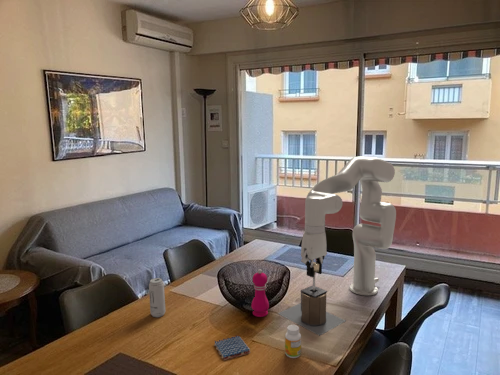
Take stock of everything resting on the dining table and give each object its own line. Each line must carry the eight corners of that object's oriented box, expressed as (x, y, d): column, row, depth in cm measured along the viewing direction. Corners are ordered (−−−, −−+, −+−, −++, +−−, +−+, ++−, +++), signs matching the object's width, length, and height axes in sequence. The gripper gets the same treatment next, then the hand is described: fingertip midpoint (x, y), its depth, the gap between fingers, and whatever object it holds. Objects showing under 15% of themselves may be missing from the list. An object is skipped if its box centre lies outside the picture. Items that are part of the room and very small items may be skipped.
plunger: (312, 307, 157) (313, 259, 154) (326, 314, 152) (327, 264, 148) (300, 313, 153) (300, 263, 149) (314, 320, 147) (315, 268, 144)
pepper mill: (267, 320, 155) (267, 273, 151) (249, 319, 156) (249, 272, 153) (270, 312, 162) (270, 266, 158) (253, 310, 163) (252, 265, 160)
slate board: (304, 303, 168) (304, 301, 168) (346, 323, 152) (346, 320, 152) (277, 316, 158) (277, 313, 158) (319, 338, 142) (319, 335, 141)
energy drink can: (147, 314, 161) (145, 280, 158) (160, 309, 165) (158, 276, 163) (156, 319, 157) (154, 284, 154) (168, 314, 161) (166, 280, 159)
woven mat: (223, 362, 129) (223, 357, 129) (213, 346, 139) (212, 341, 138) (251, 354, 133) (251, 349, 133) (240, 339, 143) (239, 334, 143)
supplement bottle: (283, 349, 135) (283, 323, 134) (299, 348, 136) (299, 323, 134) (286, 359, 130) (286, 332, 128) (302, 358, 130) (302, 331, 129)
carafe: (309, 310, 160) (310, 282, 158) (331, 320, 152) (332, 291, 150) (293, 318, 154) (293, 289, 152) (314, 329, 146) (315, 298, 144)
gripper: (321, 222, 154) (320, 266, 158) (292, 230, 144) (292, 277, 147) (336, 226, 149) (335, 271, 152) (307, 235, 138) (306, 283, 141)
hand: (314, 274), depth 149 cm, fingers closed on plunger, 3 cm apart
